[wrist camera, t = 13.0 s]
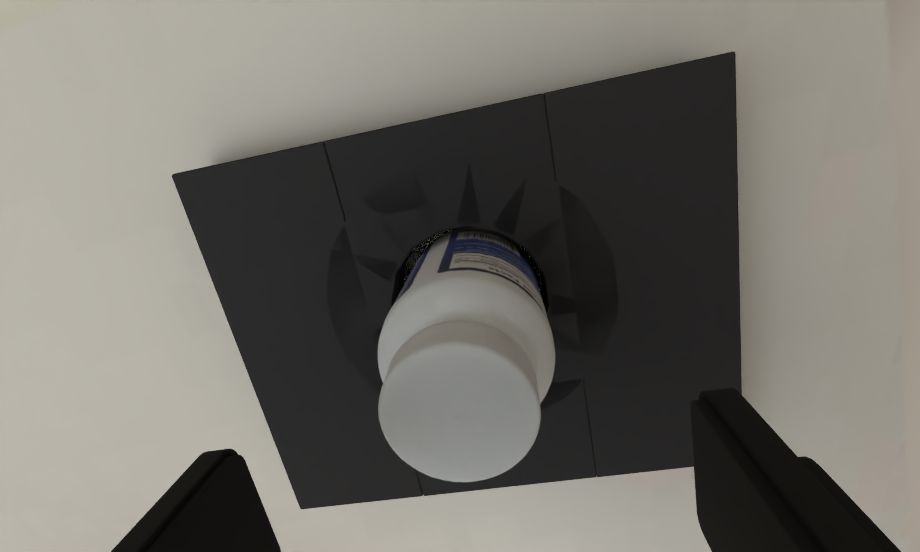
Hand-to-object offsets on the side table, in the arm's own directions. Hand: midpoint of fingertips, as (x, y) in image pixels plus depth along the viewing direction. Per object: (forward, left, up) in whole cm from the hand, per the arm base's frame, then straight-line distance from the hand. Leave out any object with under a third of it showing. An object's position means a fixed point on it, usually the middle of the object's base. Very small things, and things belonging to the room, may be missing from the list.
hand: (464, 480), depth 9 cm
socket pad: (0, +1, -12) cm, 12 cm away
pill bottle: (0, 0, -12) cm, 12 cm away
